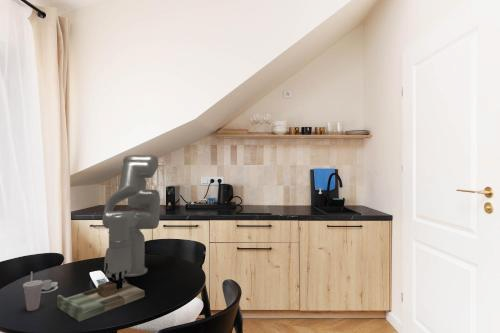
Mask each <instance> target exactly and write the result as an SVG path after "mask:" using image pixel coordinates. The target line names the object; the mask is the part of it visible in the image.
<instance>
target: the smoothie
mask: <svg viewBox="0 0 500 333" xmlns="http://www.w3.org/2000/svg"><path fill="white" fill-rule="evenodd" d="M33 273H34V272H33V271H30V281H26V282H25V283H23V284H22V289H23V291H24V292H23V293H24V300H25V306H26V311H28V312H31V311H32V312H33V311H36V310H38V309H39V308H40V302H41V295H42V293H41V292H42V290H43V289H42V286H43V281H44V280H41V279H39V280H38V279H36V280H33V279H34V278H33Z"/></svg>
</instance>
